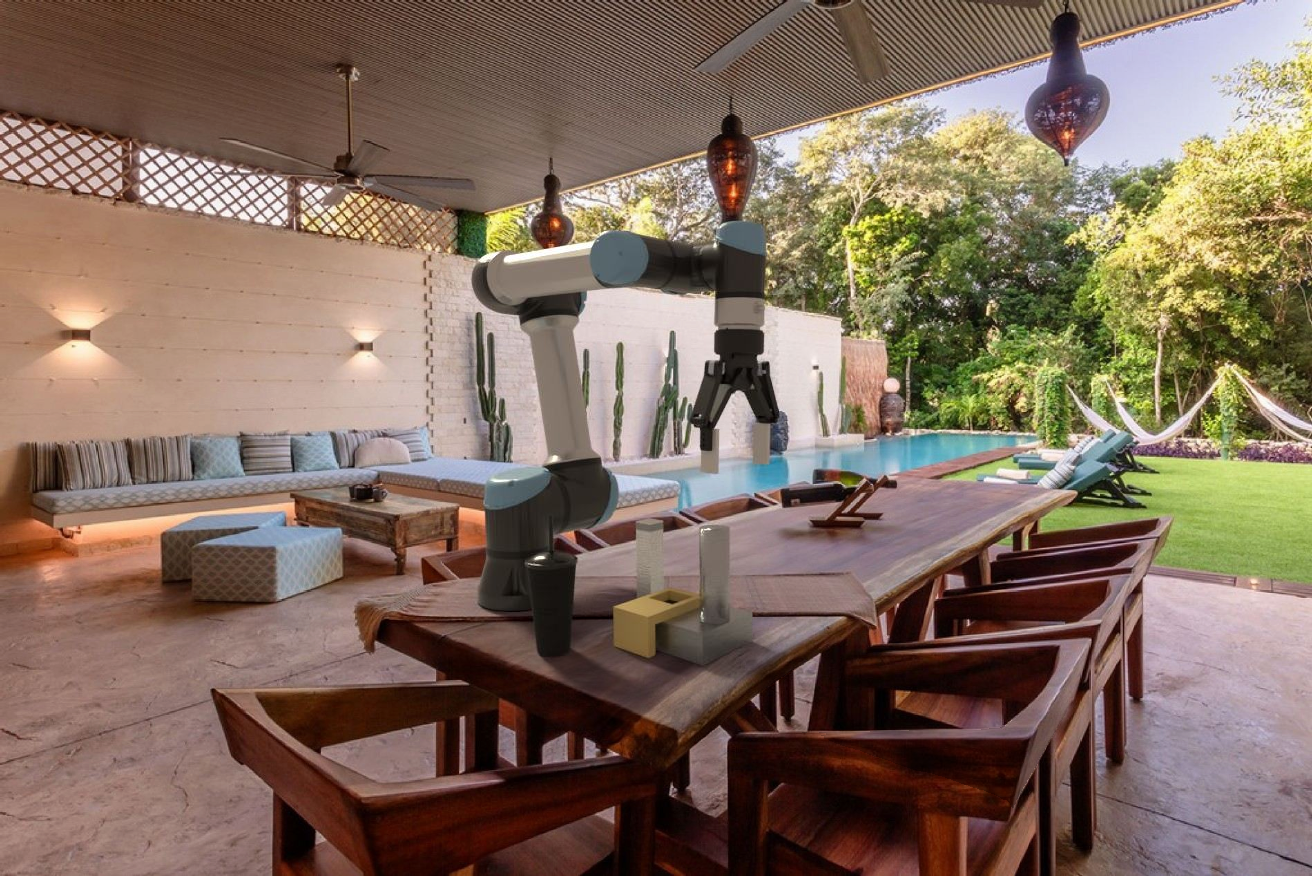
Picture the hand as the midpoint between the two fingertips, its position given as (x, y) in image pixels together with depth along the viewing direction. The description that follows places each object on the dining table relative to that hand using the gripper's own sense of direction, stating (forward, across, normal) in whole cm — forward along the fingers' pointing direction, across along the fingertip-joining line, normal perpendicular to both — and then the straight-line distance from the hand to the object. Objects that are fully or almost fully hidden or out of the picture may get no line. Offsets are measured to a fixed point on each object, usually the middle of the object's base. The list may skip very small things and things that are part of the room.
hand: (736, 468), depth 109 cm
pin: (+26, -3, +15) cm, 30 cm away
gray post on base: (+26, -8, +3) cm, 27 cm away
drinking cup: (+26, -24, +15) cm, 39 cm away
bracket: (+26, -10, +6) cm, 29 cm away
